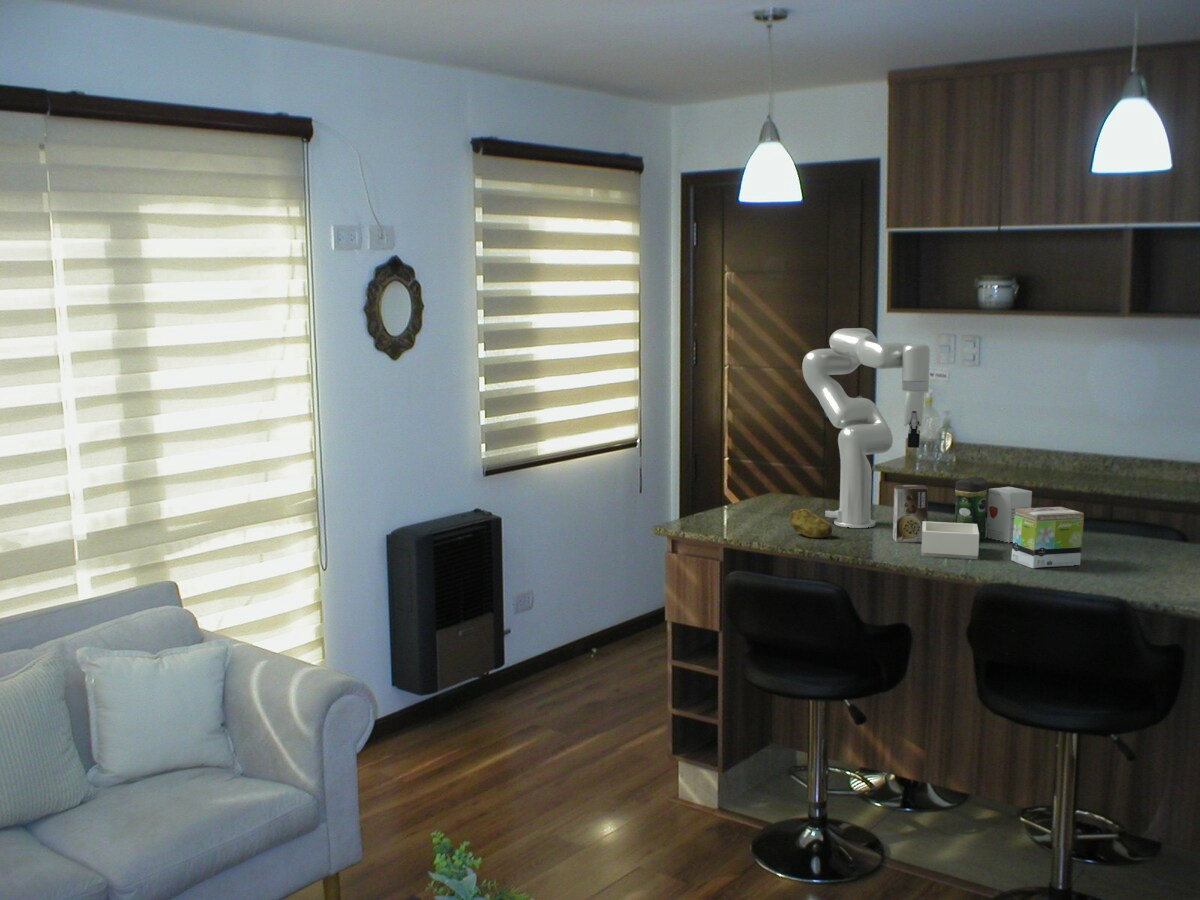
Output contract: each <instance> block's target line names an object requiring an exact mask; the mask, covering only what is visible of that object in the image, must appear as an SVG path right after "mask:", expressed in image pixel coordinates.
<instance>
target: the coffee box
mask: <svg viewBox="0 0 1200 900" xmlns="http://www.w3.org/2000/svg"><path fill="white" fill-rule="evenodd" d="M893 489H894V490H893V518H892V520H893V523H892V524H893V525H892V526H893V527H892V528H893V529H892V538H893V540H894V542H895V543H922V521H927V522H928V512H929V511H928V507H929V504H928V503H929V502H928V501H929V488H928V487H927V486H926V485H924V484H894V487H893Z"/></svg>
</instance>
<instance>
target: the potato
mask: <svg viewBox="0 0 1200 900" xmlns="http://www.w3.org/2000/svg"><path fill="white" fill-rule="evenodd" d="M788 520H789V523H790V524H791V525H790V526H791V527H792V528H793V529H794V530H796V531H797V532H799V533H800V534H802V535H803V536H805V537H808V538H813V539H821V538H827V537H829V536H831V535H832V533H833V528H832V527H833V526H832V525H831V524H830V523H829V522H828V521H826V520H825V519H823V518H822V517H820V516H819V515H817V514H816V513H813V512H812V511H811V510H809V509H805V508H796V509H794V510H793V511H791V512H790V513H789V516H788Z"/></svg>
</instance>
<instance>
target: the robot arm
mask: <svg viewBox="0 0 1200 900" xmlns="http://www.w3.org/2000/svg"><path fill="white" fill-rule="evenodd" d="M829 346H830V348H817V349H813V350H811V351H809V352H808V353H806V354H805V356H804V357H803V361H802V367H801V370H802V376H803V379H804V381H805V382H806V385H807V386H808V388H809V389H810V391H811V392H812V393H813V394H814V396H815V397H816V398H817V400H818V401H819V404H820V406H821V407H822V409H823V410H824V412H825V415H826V417H827V418H828V419H829V421H830V423H831V424H832V426H833V427H835V428H836V429H841V430H840V431H839V433H838V438H837V444H838V449H839V458H840V482H839V483H840V484H839V490H840V491H839V508H838V509H837V510H834V511H833V510H825V512H824V513H825V514H824V517H825V518H826V517H828V518H835V519H834V521H833V523H834V525H835V526H838V527H842V528H847V527H849V529H867V528H868V527H869V528H873V527H875V526H876V521H875V520H874V519H872V518H871V512H872V511H871V508H872V507H871V505H872V472H873V471H872V467H871V466H872V465H871V463H870V460H869V459H868V457H867V455H877V454H878V455H879V454H883V453H886V452H888V451H889V450H890V449H891V448H892V446H893V442H894V438H893V434H892V431H891V428H890V427H889V425H888V423H887V421H886V420H885V417H883V415H882V413H881V411H880V410H879V408H878V407H877V405H876V403H875V402H873V401H872V400H871V399H868V398H866V397H850V396H849V395H847V393H846V392H845V390H844V388H843V387H842V385H841V384H840V383H839V382H838V381H837V380H836V379H834V378H832V377H831V376H832V375H833V376H834V375H836V376H837V375H848V374H851V373H853V372H854V371H855V370H856V369H857V368H858V367H859V366H860V365H864V366H866V367H870V368H873V369H879V370H887V369H902V372H901V373H902V374H901V392H902V393H904V395H905V396H904V413H903V414H904V415H903V421H904V422H903V425H904V427H907V425H908V433H907V448H911V449H912V448H914V449H915V448H916V449H918V448H920V439H921V438H920V437H921V433H920V432H921V431H920V427H921V426H922V423H923V419H924V416H923V415H924V407H925V406H924V404H925V393H929V390H930V389H929V387H930V386H929V385H930V384H929V383H930V382H929V381H930V355H931V354H930V351H931V350H930V347H929V345H928V344H923V343H922V344H920V343H910V342H879V340H878V339H877V337H876V336H875V335H874V333H873V332H872V331H871V330H870V329H868V328H865V327H857V328H855V327H854V328H851V327H850V328H849V327H848V328H847V327H846V328H844V327H843V328H840V329H837V330H835V331H834V332H833V333H832V334H831V335H830V337H829Z"/></svg>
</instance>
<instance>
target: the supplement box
mask: <svg viewBox="0 0 1200 900" xmlns="http://www.w3.org/2000/svg"><path fill="white" fill-rule="evenodd" d="M987 492H988V495H987V514H986V516H987V517H986V537H988V538H987V539H990V538H992V539H991V540H994V539H996V540H995V541H998V540H1000V541H999V542H1001V541H1004V542H1003V543H1005V542H1008V543H1007V544H1010V543H1009V542H1013V530H1014V517H1015V509H1020V508H1032V498H1033V497H1032V496H1033V491H1032V490H1028V489H1023V488H1019V487H1018V488H1017V487H1013V486H1005V487H1004V486H1002V487H994V488H988V489H987ZM986 537H985V538H986Z"/></svg>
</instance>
